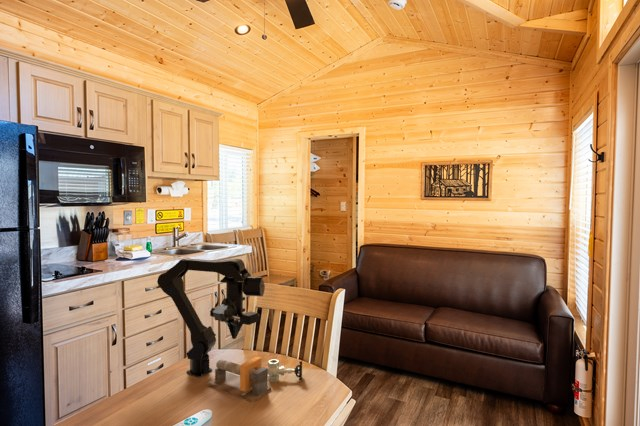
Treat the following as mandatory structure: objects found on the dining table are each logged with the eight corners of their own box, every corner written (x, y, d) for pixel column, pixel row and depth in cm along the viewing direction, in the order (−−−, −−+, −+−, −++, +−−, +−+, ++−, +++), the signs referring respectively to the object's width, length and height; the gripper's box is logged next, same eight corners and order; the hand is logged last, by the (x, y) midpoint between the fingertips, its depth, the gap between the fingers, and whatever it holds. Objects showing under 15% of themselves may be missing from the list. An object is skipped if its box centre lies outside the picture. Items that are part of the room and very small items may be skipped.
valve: (266, 384, 128) (301, 384, 128) (266, 365, 128) (302, 365, 128) (268, 375, 135) (302, 375, 135) (268, 357, 134) (302, 357, 135)
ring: (240, 390, 120) (240, 365, 120) (256, 380, 127) (256, 356, 126) (244, 391, 119) (245, 366, 119) (261, 381, 126) (261, 357, 125)
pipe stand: (207, 385, 127) (207, 361, 126) (226, 374, 134) (226, 352, 134) (253, 402, 116) (253, 376, 116) (271, 390, 124) (271, 365, 124)
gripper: (198, 296, 132) (198, 340, 132) (238, 304, 122) (238, 351, 123) (221, 289, 141) (221, 331, 142) (260, 296, 132) (260, 341, 132)
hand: (234, 338), depth 134 cm, fingers closed
